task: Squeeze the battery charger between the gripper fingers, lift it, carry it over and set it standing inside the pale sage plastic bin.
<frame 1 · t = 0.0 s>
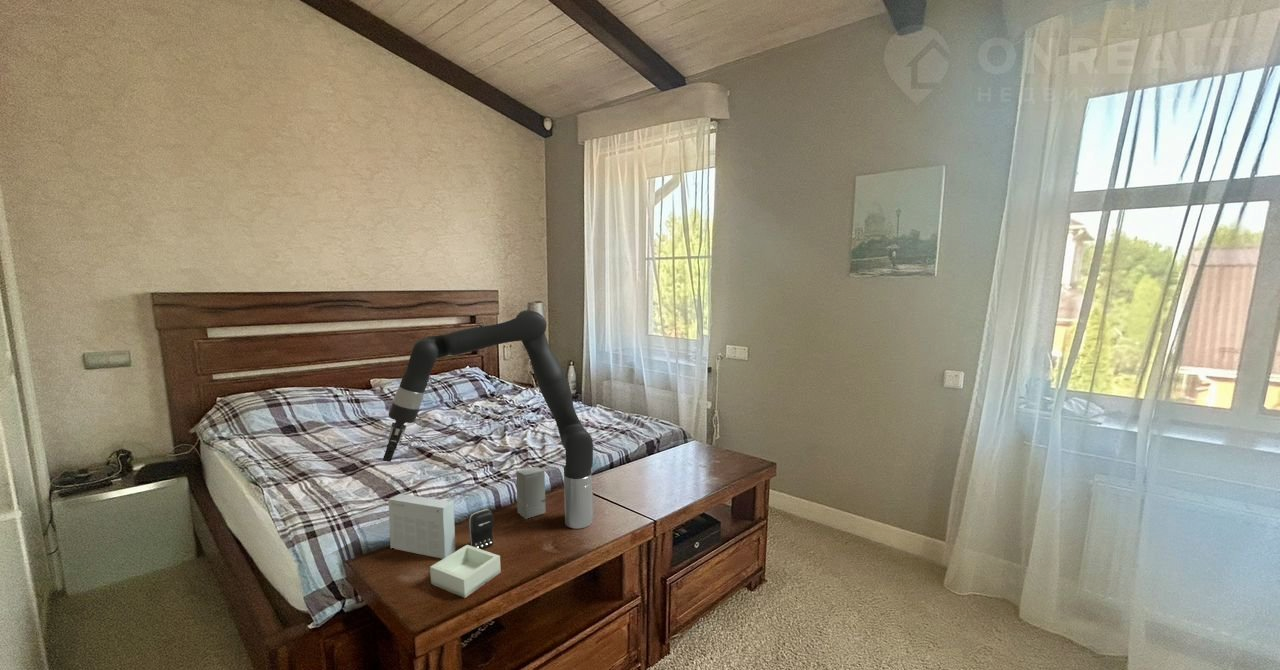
hand: (388, 456, 148), 31 cm above the cabinet, tool tilted 20°, fingers open, 8 cm apart
skincare box: (531, 513, 179), on the cabinet
battery charger: (483, 548, 156), on the cabinet
skincare box 2: (423, 550, 156), on the cabinet
bin: (466, 578, 140), on the cabinet
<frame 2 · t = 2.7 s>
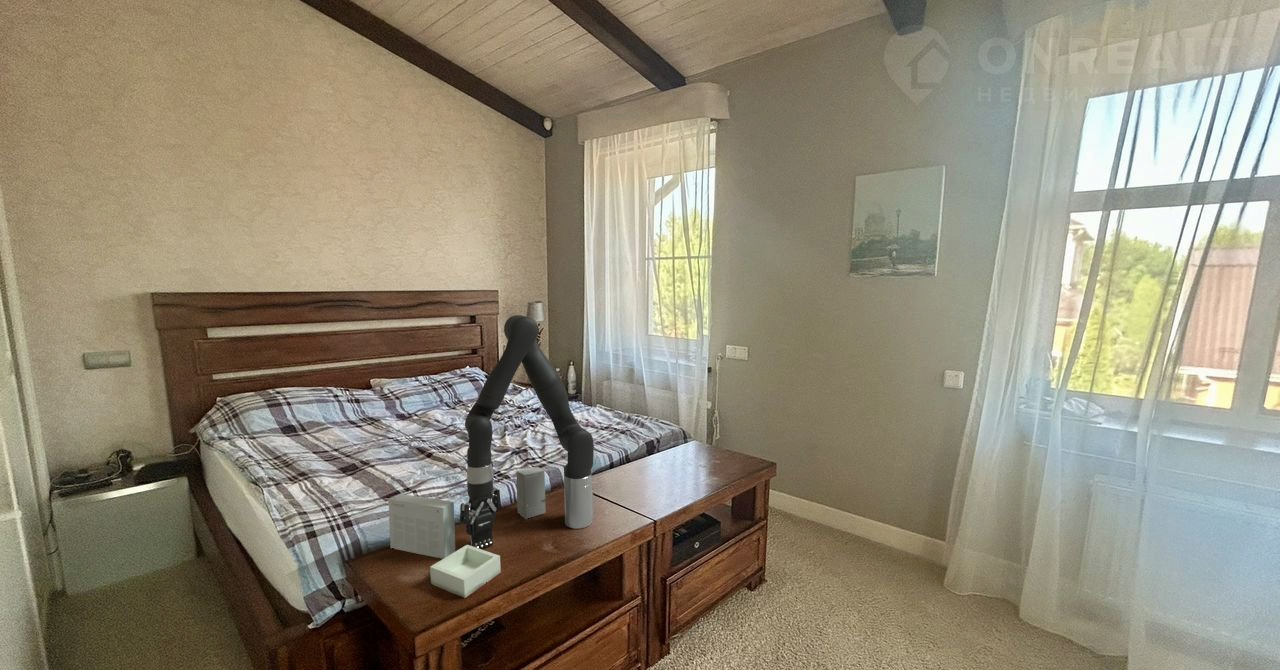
hand: (481, 528, 156), 6 cm above the cabinet, tool pointing down, fingers open, 8 cm apart
battery charger: (483, 548, 156), on the cabinet, touching gripper
everything else where it was.
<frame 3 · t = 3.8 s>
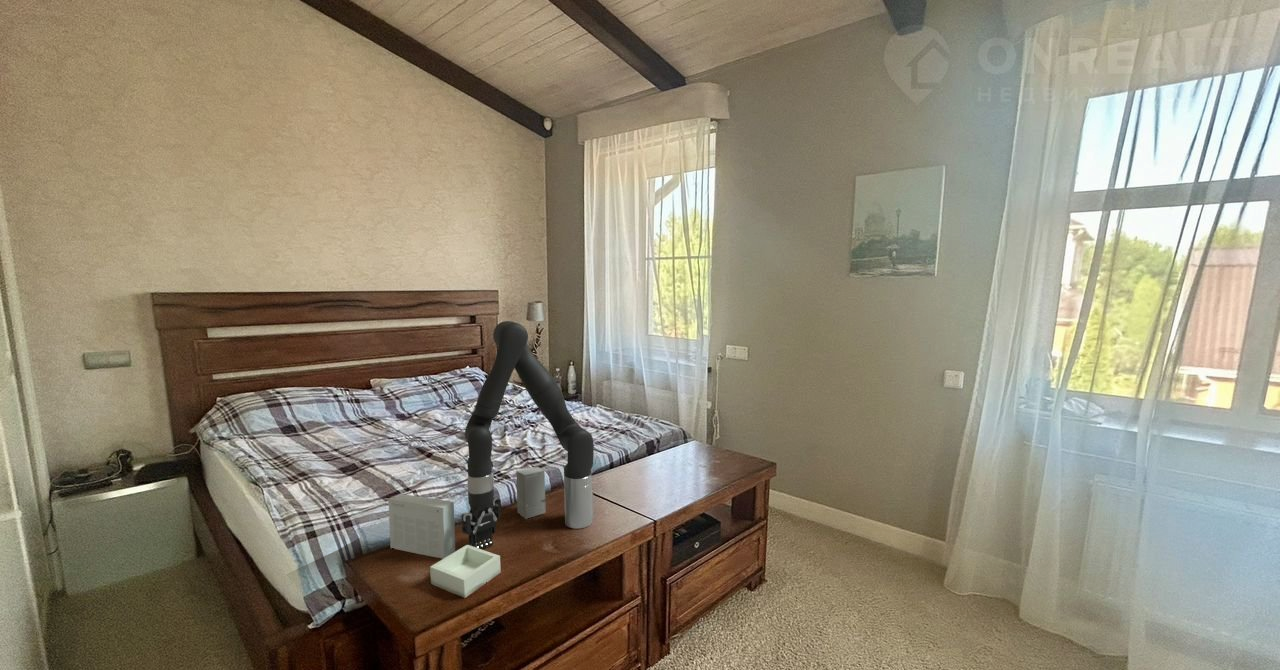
hand: (483, 538, 156), 3 cm above the cabinet, tool pointing down, fingers closed on battery charger, 7 cm apart
battery charger: (483, 548, 156), on the cabinet, touching gripper
everything else where it was.
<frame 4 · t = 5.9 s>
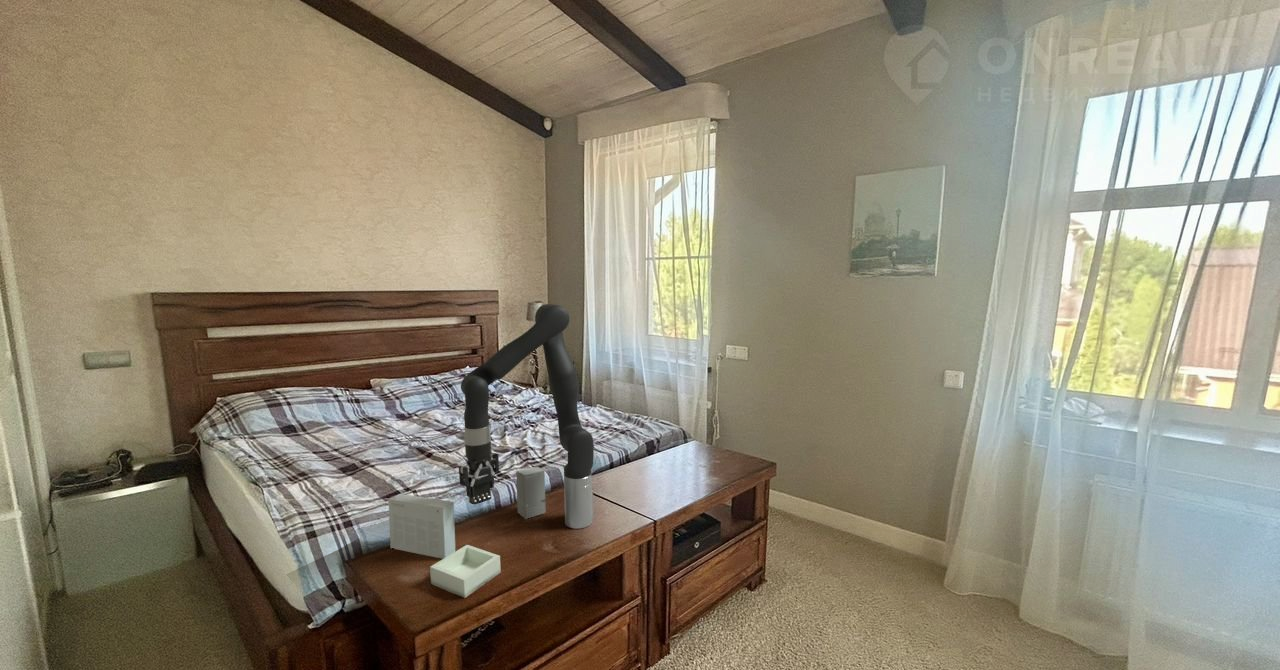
hand: (481, 492, 154), 18 cm above the cabinet, tool pointing down, fingers closed on battery charger, 7 cm apart
battery charger: (481, 502, 155), point 15 cm above the cabinet, touching gripper
everything else where it was.
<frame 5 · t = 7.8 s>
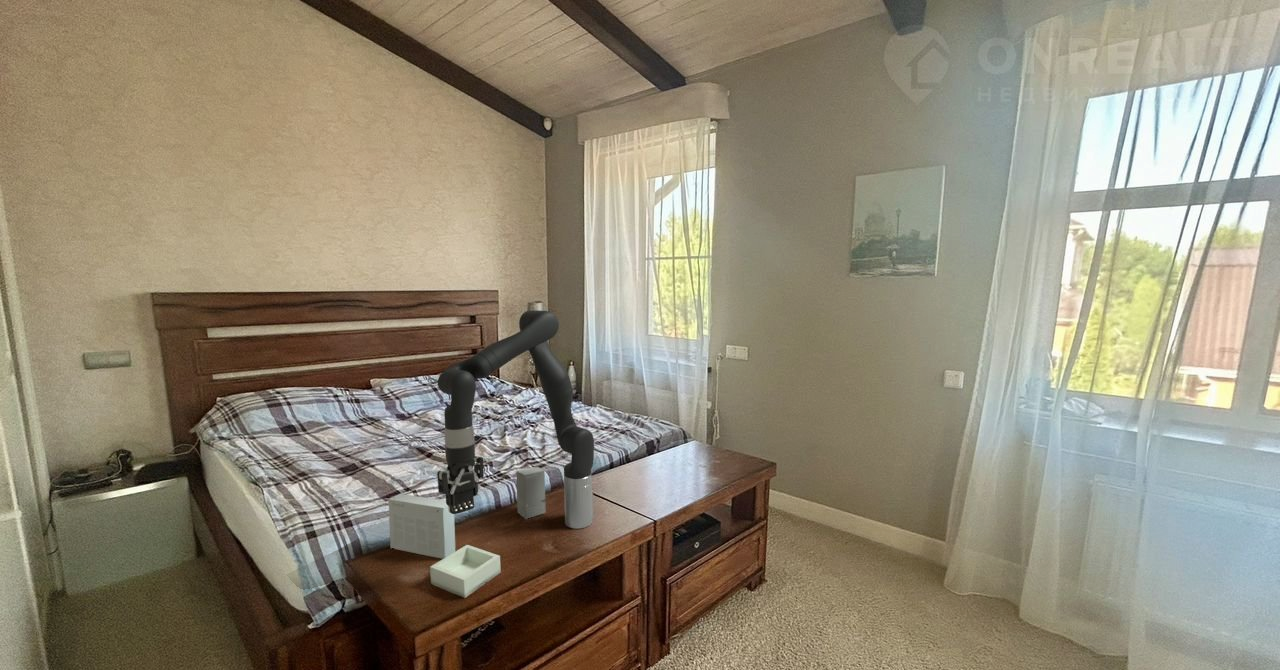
hand: (462, 500, 138), 23 cm above the cabinet, tool pointing down, fingers closed on battery charger, 7 cm apart
battery charger: (462, 511, 138), point 19 cm above the cabinet, touching gripper
everything else where it was.
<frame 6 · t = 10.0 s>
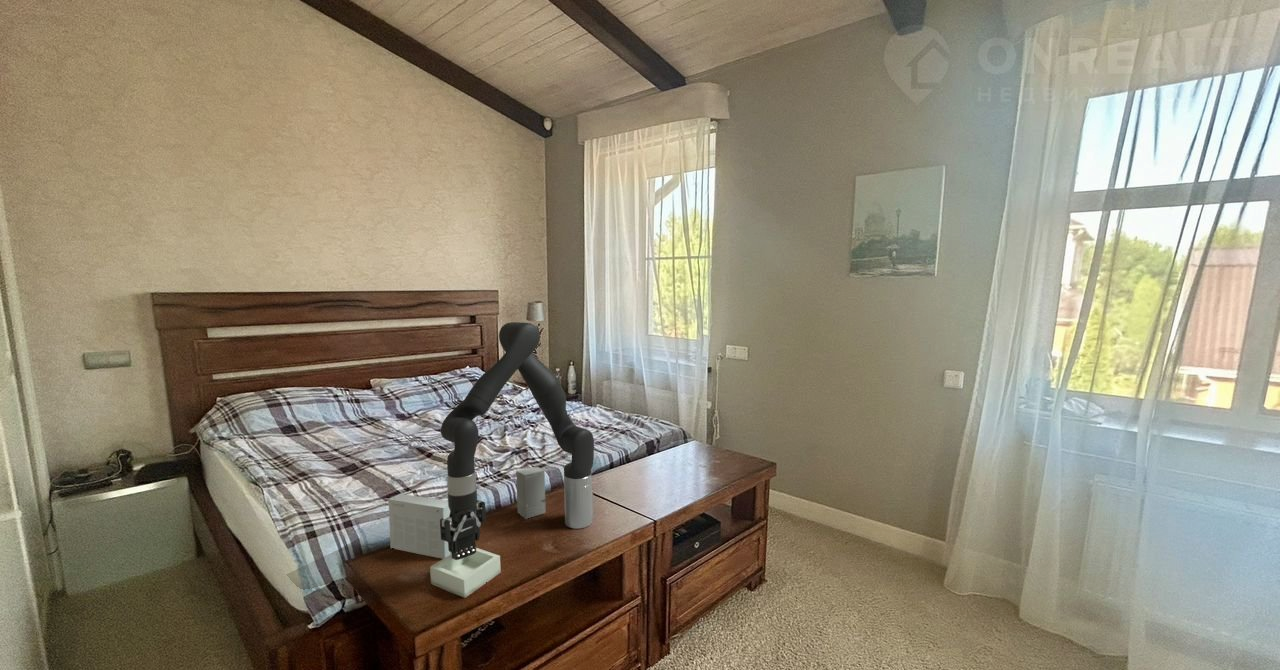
hand: (464, 545, 139), 10 cm above the cabinet, tool pointing down, fingers closed on battery charger, 7 cm apart
battery charger: (464, 556, 140), point 6 cm above the cabinet, touching gripper
everything else where it was.
when the fingers open (6 cm above the cabinet, at t = 11.9 s): battery charger drops 2 cm, resting on bin.
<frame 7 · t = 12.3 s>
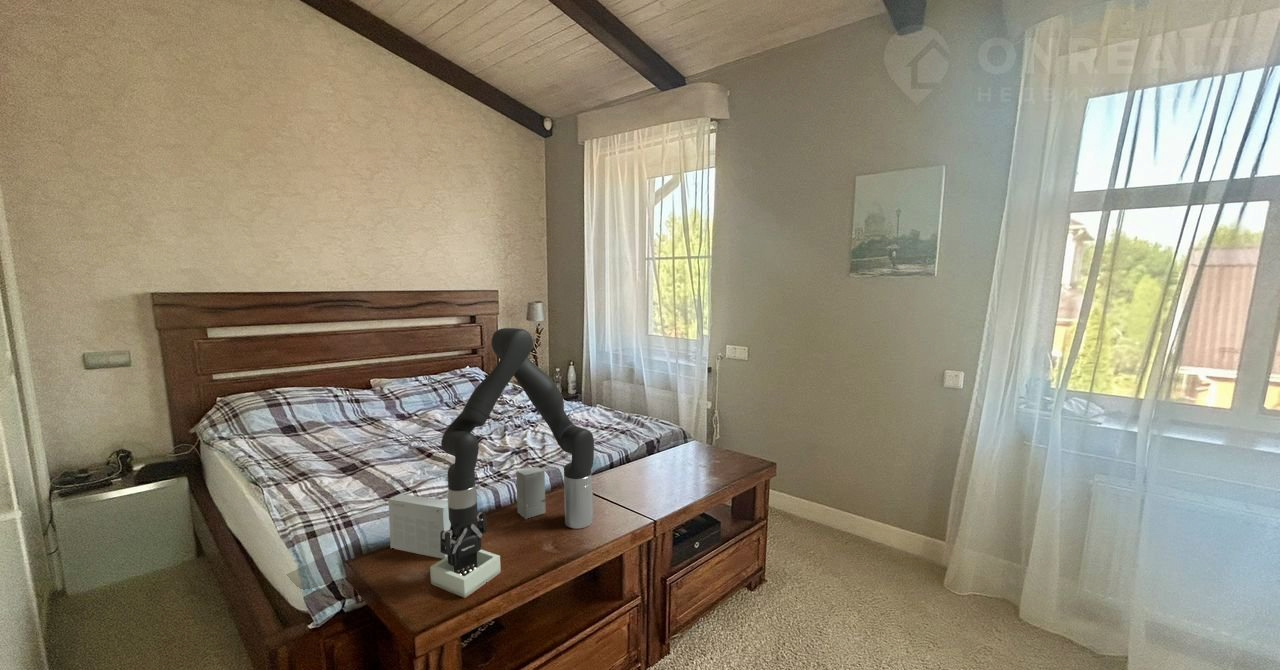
hand: (465, 557, 140), 6 cm above the cabinet, tool pointing down, fingers open, 8 cm apart
battery charger: (466, 575, 140), point 1 cm above the cabinet, touching bin
everything else where it was.
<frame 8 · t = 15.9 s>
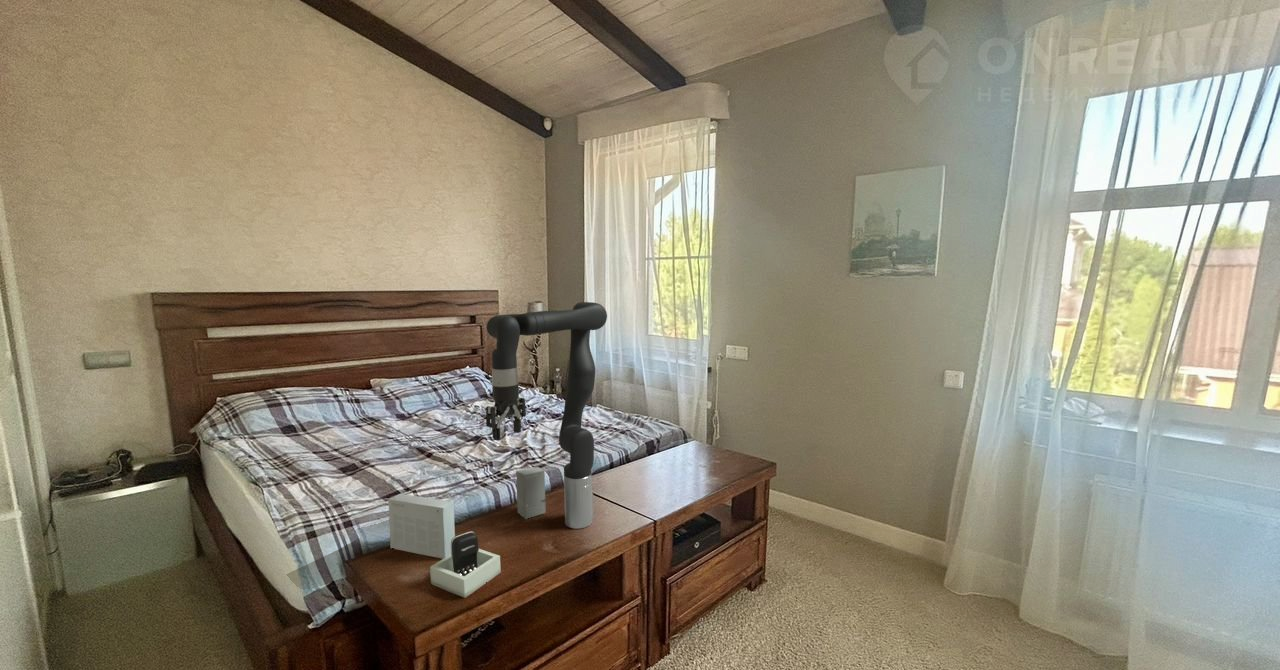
hand: (507, 436, 151), 36 cm above the cabinet, tool pointing down, fingers open, 8 cm apart
nothing on the cabinet moved.
at the end: battery charger inside the target area on the bin (0.2 cm from its centre), point 0.8 cm above the bin's base; battery charger tilted 0°; the gripper is holding nothing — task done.
